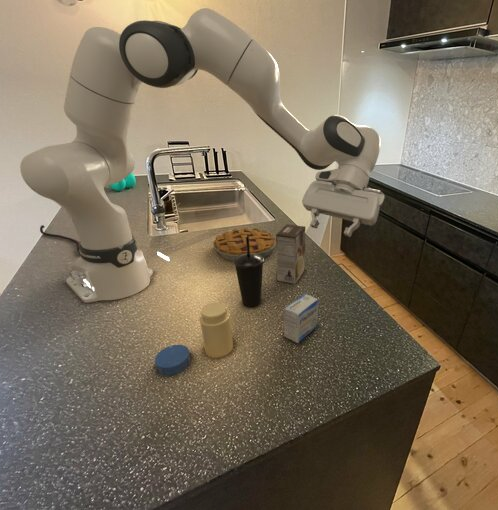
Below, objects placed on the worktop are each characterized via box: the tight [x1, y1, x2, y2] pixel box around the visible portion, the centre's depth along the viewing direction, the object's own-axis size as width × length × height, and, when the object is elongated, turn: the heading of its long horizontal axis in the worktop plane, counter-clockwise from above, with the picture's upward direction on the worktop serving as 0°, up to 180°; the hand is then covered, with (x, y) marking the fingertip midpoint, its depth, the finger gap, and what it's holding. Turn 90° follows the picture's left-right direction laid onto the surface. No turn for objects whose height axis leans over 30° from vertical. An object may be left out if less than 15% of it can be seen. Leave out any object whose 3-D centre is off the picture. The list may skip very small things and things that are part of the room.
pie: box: [212, 227, 276, 262], centre depth 111 cm, size 22×22×5 cm
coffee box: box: [275, 223, 306, 284], centre depth 96 cm, size 9×6×16 cm
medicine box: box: [283, 293, 319, 344], centre depth 74 cm, size 8×4×9 cm, turn 148°
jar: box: [199, 301, 234, 359], centre depth 67 cm, size 6×6×11 cm
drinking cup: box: [232, 237, 265, 309], centre depth 80 cm, size 8×8×20 cm
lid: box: [154, 344, 192, 376], centre depth 64 cm, size 6×6×2 cm
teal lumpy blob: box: [108, 171, 137, 192], centre depth 161 cm, size 10×10×10 cm
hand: (329, 231), depth 76 cm, fingers open, 8 cm apart
